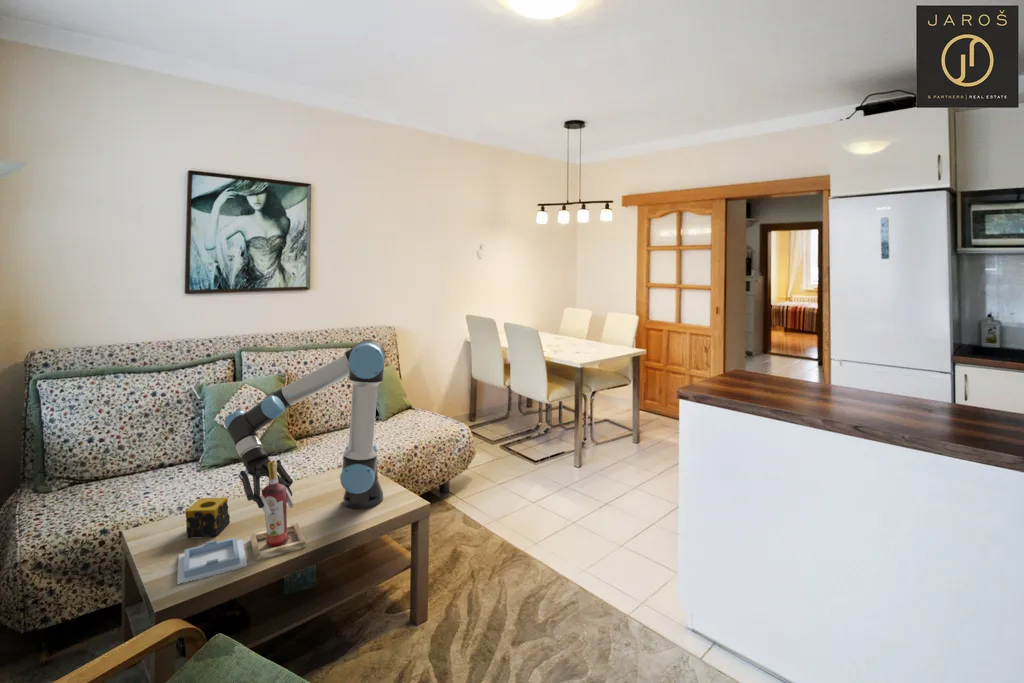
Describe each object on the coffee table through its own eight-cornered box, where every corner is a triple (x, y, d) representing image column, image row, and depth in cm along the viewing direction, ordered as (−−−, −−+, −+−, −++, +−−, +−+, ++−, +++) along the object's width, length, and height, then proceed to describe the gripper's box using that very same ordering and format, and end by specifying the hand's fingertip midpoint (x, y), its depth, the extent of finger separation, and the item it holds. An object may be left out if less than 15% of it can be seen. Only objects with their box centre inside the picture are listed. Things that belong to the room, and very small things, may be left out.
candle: (201, 524, 185) (199, 497, 184) (230, 523, 186) (228, 496, 185) (186, 538, 175) (183, 510, 174) (217, 537, 176) (214, 509, 175)
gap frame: (298, 528, 181) (297, 522, 181) (305, 547, 169) (305, 541, 168) (250, 540, 174) (250, 534, 173) (255, 560, 161) (254, 554, 161)
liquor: (293, 537, 175) (288, 458, 171) (284, 549, 168) (278, 466, 164) (271, 538, 175) (265, 458, 171) (261, 549, 168) (255, 466, 164)
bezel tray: (242, 540, 173) (241, 531, 173) (247, 566, 158) (246, 555, 158) (178, 556, 164) (177, 546, 164) (177, 585, 149) (176, 574, 148)
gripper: (277, 450, 185) (305, 504, 178) (217, 467, 169) (246, 528, 161) (284, 438, 181) (313, 493, 174) (224, 455, 165) (253, 516, 158)
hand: (281, 510), depth 168 cm, fingers closed on liquor, 7 cm apart
